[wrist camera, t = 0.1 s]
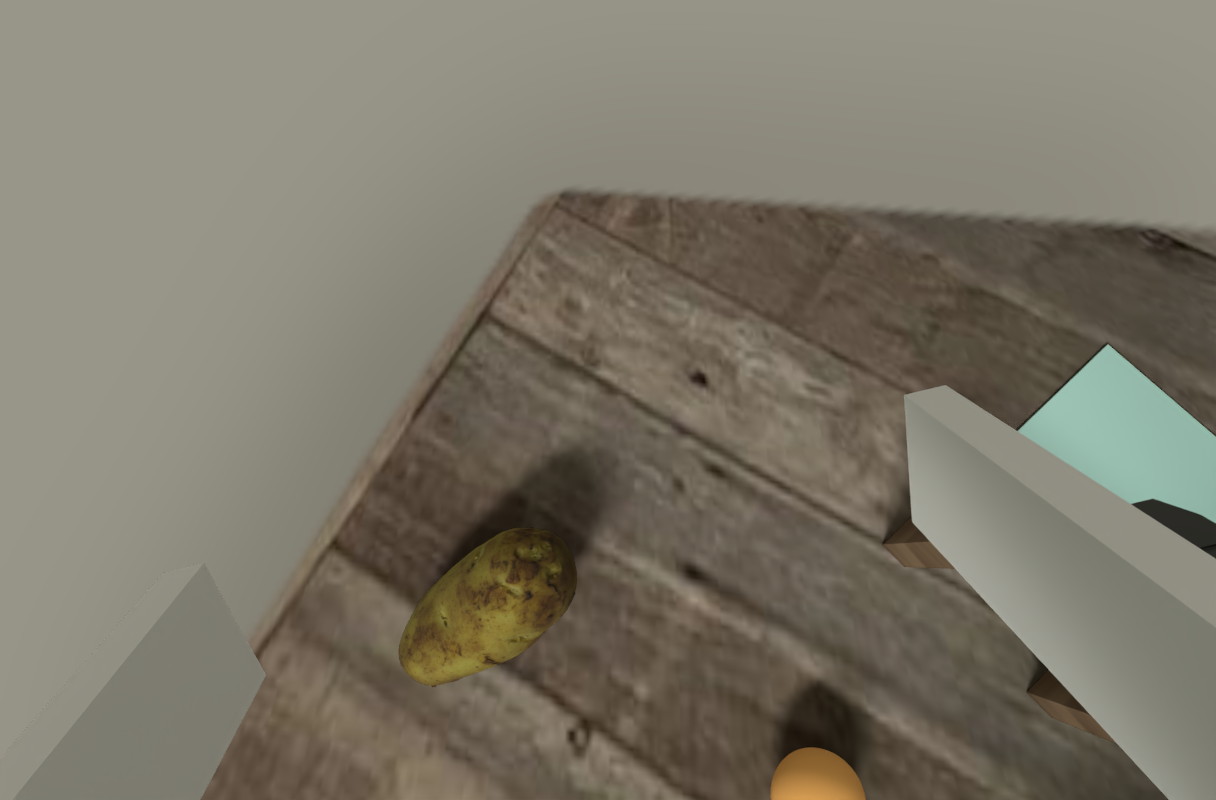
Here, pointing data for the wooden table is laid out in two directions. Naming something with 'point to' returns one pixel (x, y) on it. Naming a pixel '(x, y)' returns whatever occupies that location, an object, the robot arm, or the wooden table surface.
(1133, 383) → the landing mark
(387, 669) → the wooden table surface
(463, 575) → the potato
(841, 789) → the ball
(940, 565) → the bridge
